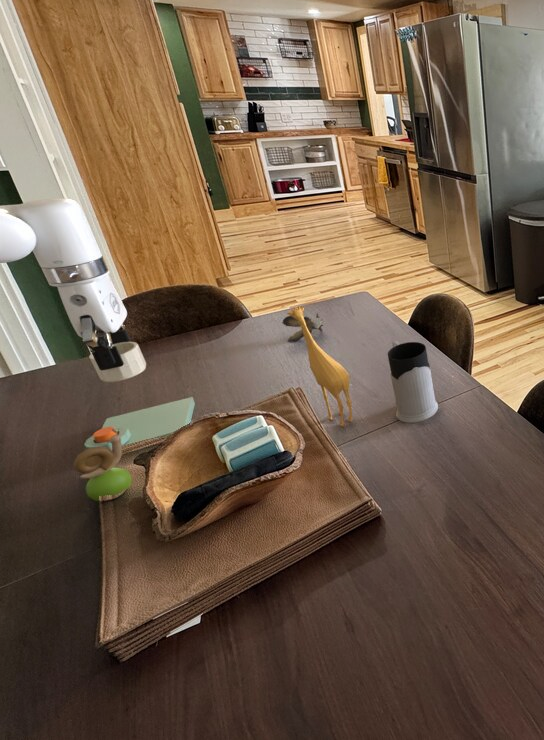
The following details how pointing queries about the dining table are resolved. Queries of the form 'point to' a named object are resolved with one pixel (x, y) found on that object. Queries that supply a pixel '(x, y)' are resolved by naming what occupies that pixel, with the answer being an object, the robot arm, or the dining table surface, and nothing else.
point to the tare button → (103, 434)
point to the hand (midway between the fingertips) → (117, 358)
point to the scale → (148, 423)
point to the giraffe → (325, 368)
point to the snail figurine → (103, 469)
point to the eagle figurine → (294, 322)
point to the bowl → (132, 363)
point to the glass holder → (412, 382)
